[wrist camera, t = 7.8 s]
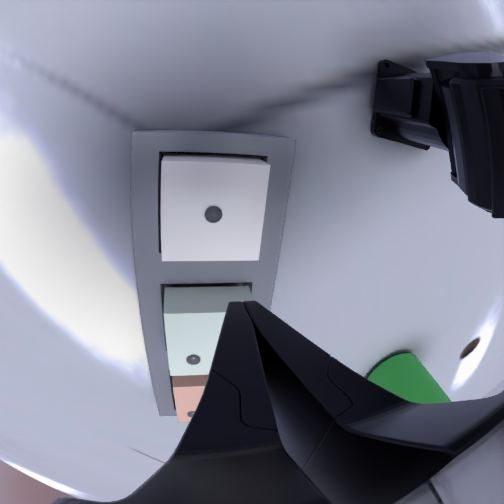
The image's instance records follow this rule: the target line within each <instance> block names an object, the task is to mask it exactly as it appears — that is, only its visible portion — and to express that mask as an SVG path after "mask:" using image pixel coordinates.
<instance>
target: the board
mask: <svg viewBox="0 0 504 504" xmlns="http://www.w3.org/2000/svg"><path fill="white" fill-rule="evenodd" d="M295 144H296V140H294V139H290V138H287V137H279V136H270V135H260V134H249V133H236V132H221V131H200V130H136V131H133V132H132V134H131V212H132V233H133V248H134V261H135V272H136V282H137V291H138V299H139V307H140V315H141V322H142V329H143V335H144V341H145V347H146V353H147V359H148V364H149V369H150V375H151V379H152V384H153V389H154V394H155V398H156V403H157V407H158V411H159V415H160V416H177V412H176V406H175V399H174V395H173V388H172V381H171V376H170V370H169V362H168V353H167V344H166V334H165V324H164V302H163V287H162V284H191V283H241V282H246V283H245V286H249V289H250V292H251V294H252V297H253V299H254V300H255V301H257V302H258V303H260V304H261V305H262V306H264V307H265V308H266V309H268V310H269V311H270V309H271V303H272V297H273V291H274V285H275V279H276V273H277V267H278V261H279V254H280V248H281V242H282V235H283V229H284V222H285V215H286V209H287V202H288V195H289V188H290V181H291V174H292V167H293V159H294V152H295ZM161 152H210V153H231V154H247V155H260V156H259V158H260V159H261V160H263V161H264V162H266V163H267V164H269V165H270V173H269V181H268V189H267V197H266V206H265V214H264V222H263V230H262V238H261V246H260V254H259V260H256V261H162V251H161V240H160V172H161Z"/></svg>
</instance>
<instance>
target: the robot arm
mask: <svg viewBox="0 0 504 504" xmlns="http://www.w3.org/2000/svg"><path fill="white" fill-rule="evenodd" d="M425 62H426V65H427V68H429V69H430V73H417V72H415V71H412V70H410V69H408V68H406V67H403V66H401V65H399V64H396V63H394V62H392V61H389V60H381V61H380V62H379V70H378V80H377V84H376V93H375V101H374V114H373V121H372V128H371V132H372V134H373V135H374V136H376V137H380V138H384V139H388V140H392V141H396V142H399V143H403V144H406V145H410V146H413V147H417V148H420V149H424V150H428V149H429V148H430V146H433V147H436V148H439V149H443V150H446V151H449V156H450V162H451V170H452V172H451V180H452V181H453V182H454V183H455V184H457V185H458V186H459V187H460V189H461V190H462V191H463V192H464V193H465V194H466V195H467V196H468V201H469V202H471V203H472V204H474V205H476V206H478V207H479V208H482V209H484V210H486V211H487V212H490V213H492V217H493V218H504V57H502V56H499V55H496V54H493V53H490V52H461V53H456V54H450V55H445V56H440V57H436V58H431V59H427V60H425ZM384 64H386V66H387V67H385V65H384ZM377 129H379V132H378V133H377ZM52 504H504V391H502V392H501V393H499V394H497V395H495V396H492V397H488V398H483V399H476V400H467V401H457V402H444V403H428V404H422V403H415V402H411V401H408V400H406V399H403V398H401V397H399V396H397V395H396V394H394V393H392V392H390V391H388V390H386V389H384V388H383V387H381V386H379V385H377V384H375V383H373V382H372V381H370V380H368V379H366V378H365V377H363V376H361V375H359V374H358V373H356V372H354V371H353V370H351V369H350V368H348V367H347V366H345V365H344V364H342V363H341V362H339V361H338V360H337V359H335V358H334V357H331V356H330V355H329V354H328V353H327V352H325V351H324V350H322V349H321V348H320V347H318V346H317V345H315V344H314V343H313V342H311V341H310V340H308V339H307V338H306V337H304V336H303V335H302V334H300V333H299V332H297V331H296V330H295V329H293V328H292V327H291V326H289V325H288V324H287V323H285V322H284V321H282V320H281V319H280V318H278V317H277V316H276V315H274V314H273V313H272V312H270V311H269V310H268V309H266V308H265V307H264V306H262V305H261V304H260V303H258V302H257V301H255V300H252V301H243V302H241V301H230V302H229V303H228V306H227V310H226V313H225V317H224V320H223V324H222V328H221V331H220V335H219V338H218V342H217V346H216V349H215V353H214V357H213V360H212V364H211V368H210V371H209V374H208V378H207V381H206V385H205V388H204V391H203V394H202V396H201V398H200V401H199V403H198V405H197V408H196V410H195V412H194V414H193V416H192V418H191V420H190V422H189V424H188V426H187V428H186V430H185V432H184V434H183V436H182V438H181V440H180V442H179V444H178V446H177V448H176V449H175V451H174V453H173V454H172V456H171V457H170V458H169V460H168V461H167V462H166V463H165V464H164V465H163V466H162V467H161V468H159V469H158V470H157V471H156V472H155V473H154V474H153V475H152V476H151V477H150V478H149V479H148V480H147V481H145V482H144V483H143V484H142V485H141V486H140V487H139V488H138V489H137V490H135V491H134V492H133V493H132V494H131V495H129V496H128V497H126V498H124V499H121V500H118V501H112V502H96V501H90V500H83V499H76V498H66V497H65V498H57V499H55V500H54V501H53V502H52Z"/></svg>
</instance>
